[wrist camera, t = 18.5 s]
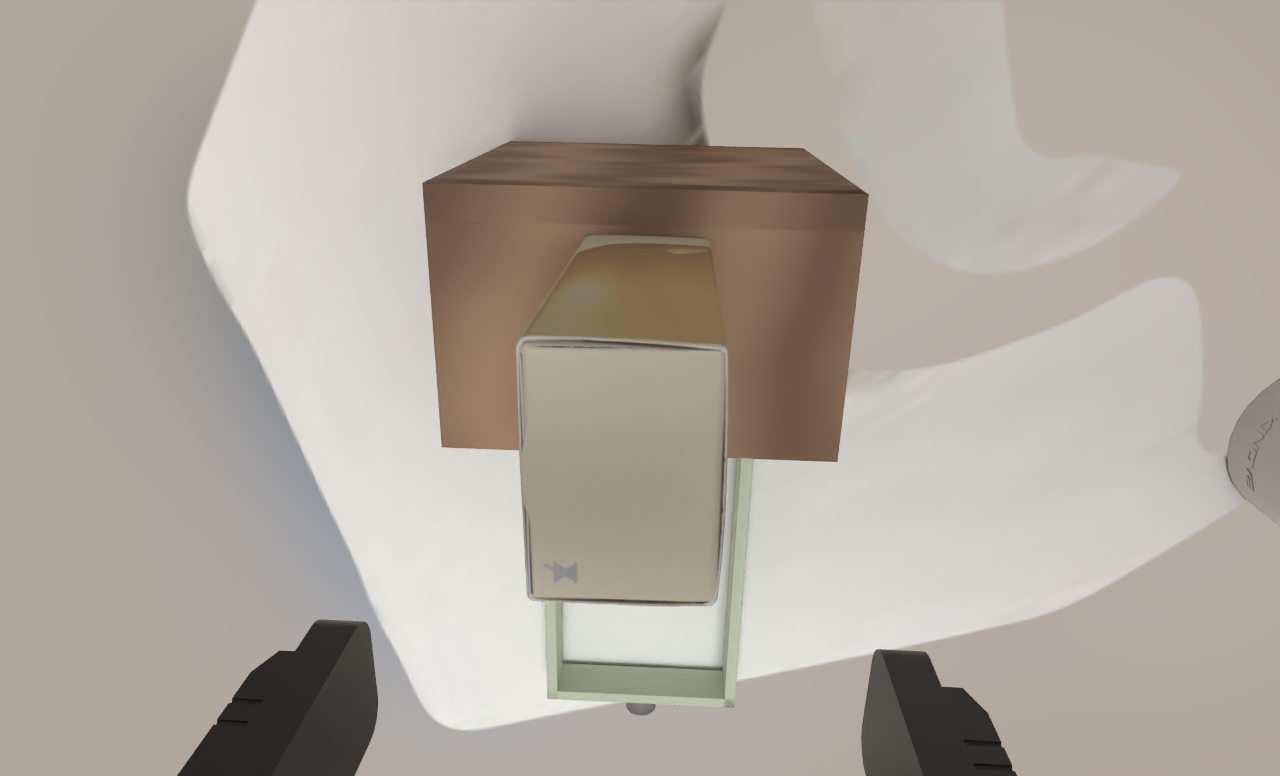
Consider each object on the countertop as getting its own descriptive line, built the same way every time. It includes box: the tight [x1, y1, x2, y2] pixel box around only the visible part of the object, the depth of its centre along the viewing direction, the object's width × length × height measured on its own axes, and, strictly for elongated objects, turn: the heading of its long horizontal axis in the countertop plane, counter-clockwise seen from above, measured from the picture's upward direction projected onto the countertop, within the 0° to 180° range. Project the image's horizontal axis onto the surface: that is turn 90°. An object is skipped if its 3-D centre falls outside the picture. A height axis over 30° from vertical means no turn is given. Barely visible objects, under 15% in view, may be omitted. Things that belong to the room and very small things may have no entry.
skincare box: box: [515, 235, 729, 606], centre depth 23 cm, size 6×4×12 cm
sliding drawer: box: [545, 458, 753, 715], centre depth 48 cm, size 11×20×2 cm, turn 179°
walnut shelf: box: [422, 141, 869, 462], centre depth 36 cm, size 14×10×15 cm, turn 89°
